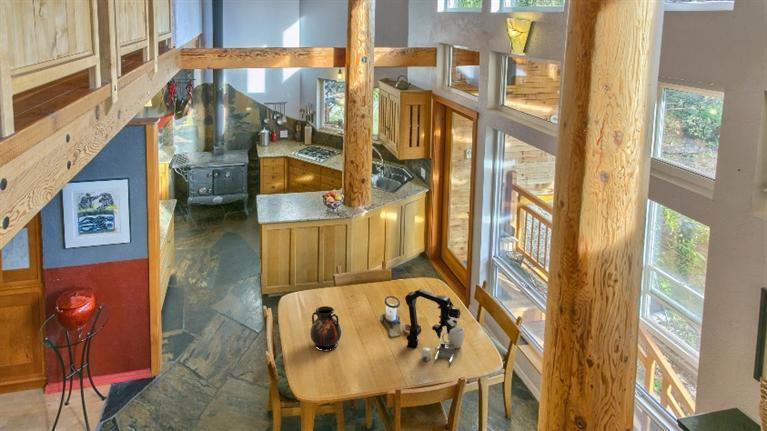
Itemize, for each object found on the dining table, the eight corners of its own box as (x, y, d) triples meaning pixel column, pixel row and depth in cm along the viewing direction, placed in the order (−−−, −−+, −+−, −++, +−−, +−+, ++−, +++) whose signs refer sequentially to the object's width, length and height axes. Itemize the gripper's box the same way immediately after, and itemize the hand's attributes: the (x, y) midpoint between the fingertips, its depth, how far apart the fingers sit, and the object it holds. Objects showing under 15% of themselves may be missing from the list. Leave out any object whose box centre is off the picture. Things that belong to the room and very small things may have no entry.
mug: (441, 349, 447) (441, 332, 443) (442, 341, 458) (442, 324, 454) (463, 350, 445) (463, 333, 441) (463, 342, 456) (464, 325, 452)
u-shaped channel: (430, 362, 431) (430, 351, 428) (435, 350, 446) (436, 339, 444) (450, 365, 427) (451, 354, 425) (455, 352, 443) (455, 342, 440)
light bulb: (420, 362, 431) (420, 352, 429) (422, 356, 439) (422, 346, 437) (428, 363, 430) (429, 354, 427) (431, 357, 437) (431, 348, 435)
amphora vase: (306, 352, 445) (304, 315, 437) (316, 337, 465) (315, 301, 457) (336, 355, 441) (334, 318, 432) (345, 340, 460) (344, 304, 452)
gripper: (445, 323, 421) (444, 345, 426) (462, 314, 434) (461, 335, 439) (432, 318, 429) (431, 339, 434) (449, 309, 441) (449, 329, 446)
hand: (443, 335), depth 438 cm, fingers open, 9 cm apart
